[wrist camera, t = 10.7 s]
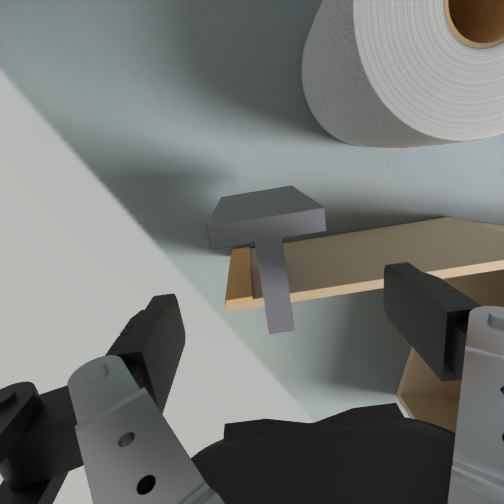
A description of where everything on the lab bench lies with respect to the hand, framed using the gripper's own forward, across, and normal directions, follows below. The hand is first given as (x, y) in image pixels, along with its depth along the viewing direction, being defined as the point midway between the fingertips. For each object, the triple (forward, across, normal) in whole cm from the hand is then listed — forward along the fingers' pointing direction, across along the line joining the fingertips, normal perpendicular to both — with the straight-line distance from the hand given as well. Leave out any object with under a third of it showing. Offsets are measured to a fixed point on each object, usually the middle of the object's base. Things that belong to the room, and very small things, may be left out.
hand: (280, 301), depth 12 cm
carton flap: (+16, -7, 0) cm, 17 cm away
